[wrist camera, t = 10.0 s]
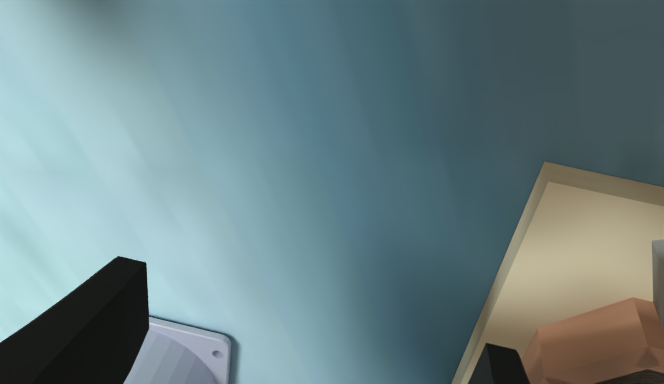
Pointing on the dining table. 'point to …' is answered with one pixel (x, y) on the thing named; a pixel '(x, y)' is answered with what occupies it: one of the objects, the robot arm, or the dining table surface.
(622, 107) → the dining table surface
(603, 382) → the cylinder
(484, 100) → the dining table surface
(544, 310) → the coupling stand
